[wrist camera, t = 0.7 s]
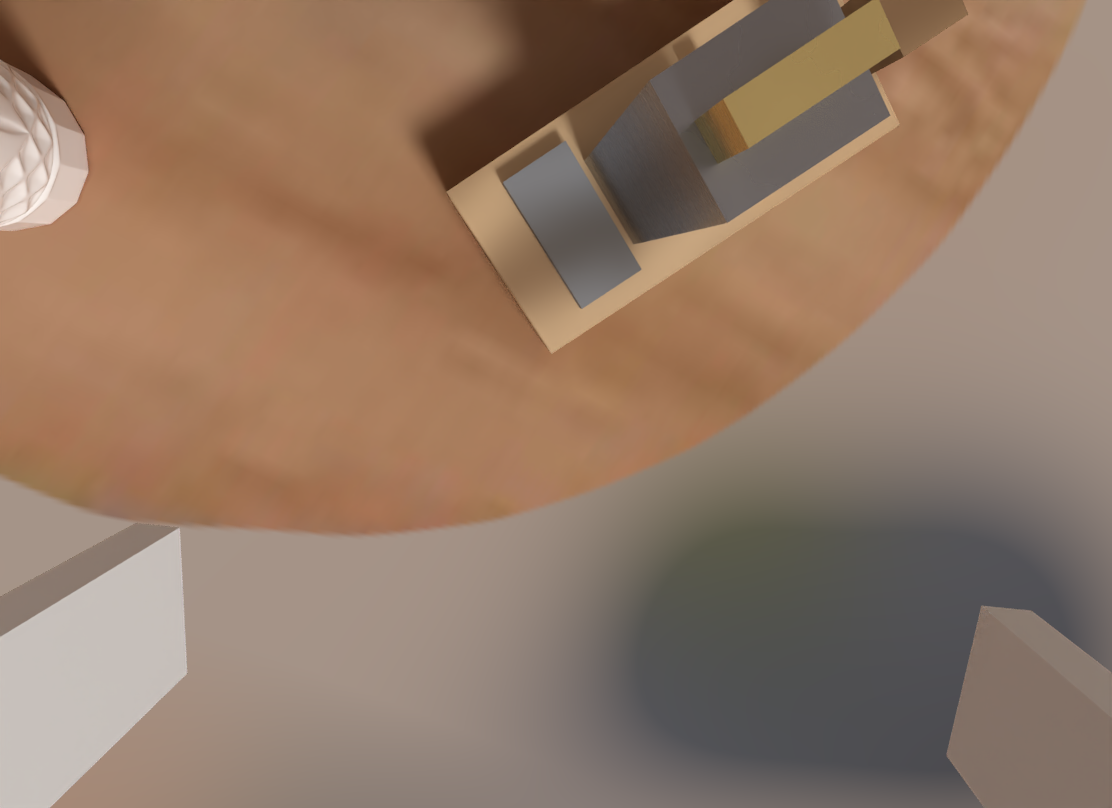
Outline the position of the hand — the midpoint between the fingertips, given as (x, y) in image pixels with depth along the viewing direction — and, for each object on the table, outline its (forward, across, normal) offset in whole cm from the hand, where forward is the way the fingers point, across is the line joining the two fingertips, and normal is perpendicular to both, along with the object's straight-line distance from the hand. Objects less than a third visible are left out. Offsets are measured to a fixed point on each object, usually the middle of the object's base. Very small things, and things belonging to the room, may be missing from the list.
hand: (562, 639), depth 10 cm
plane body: (+23, +2, +11) cm, 26 cm away
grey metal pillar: (+19, +2, +10) cm, 22 cm away
